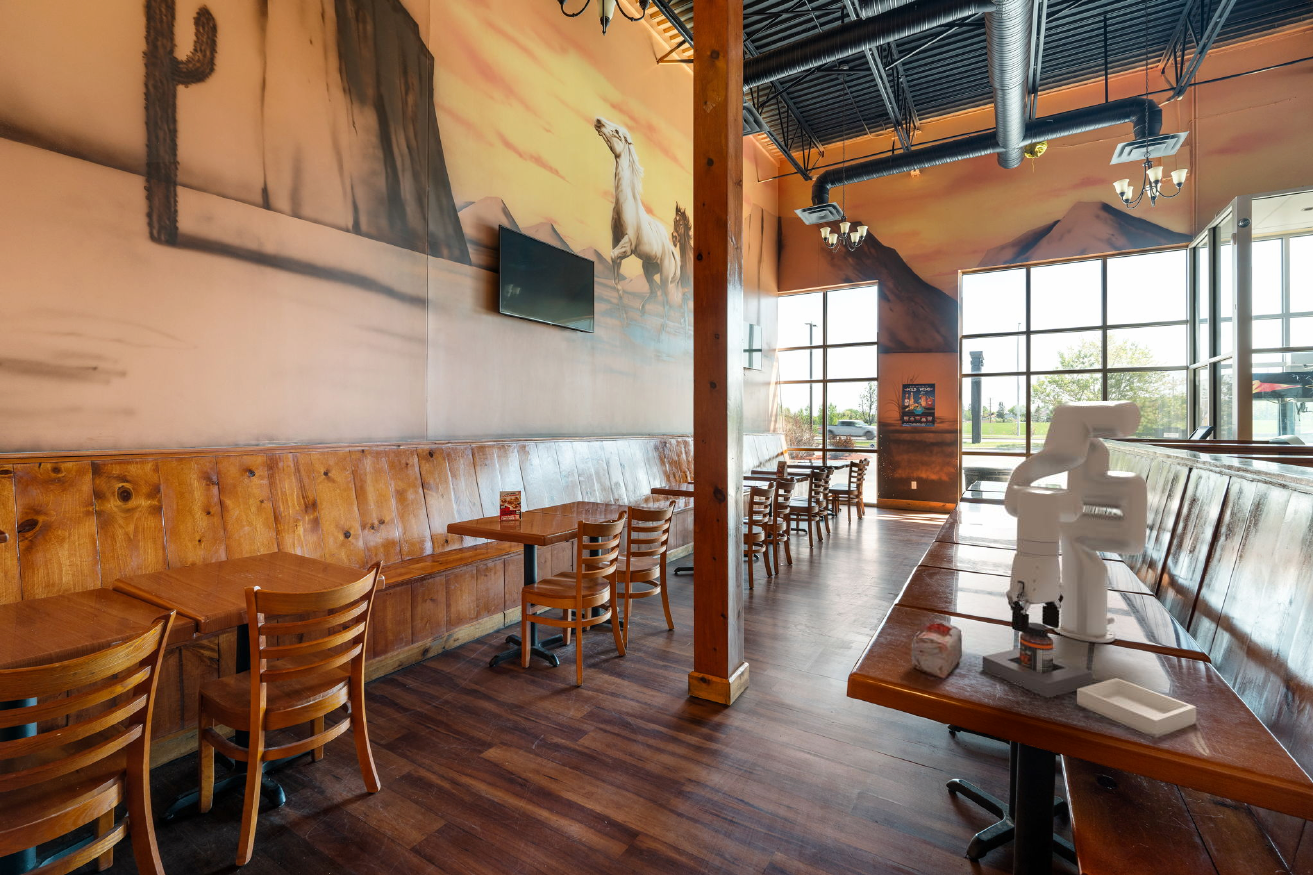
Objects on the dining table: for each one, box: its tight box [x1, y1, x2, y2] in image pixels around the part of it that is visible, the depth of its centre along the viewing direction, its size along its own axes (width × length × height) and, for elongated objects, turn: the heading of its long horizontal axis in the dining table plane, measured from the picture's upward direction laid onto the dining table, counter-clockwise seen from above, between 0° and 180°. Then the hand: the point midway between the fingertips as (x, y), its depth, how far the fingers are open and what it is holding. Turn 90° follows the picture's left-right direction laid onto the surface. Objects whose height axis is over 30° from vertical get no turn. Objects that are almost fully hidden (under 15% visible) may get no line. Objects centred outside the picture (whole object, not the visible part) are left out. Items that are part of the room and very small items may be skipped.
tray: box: [1076, 677, 1197, 739], centre depth 105 cm, size 13×13×3 cm
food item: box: [910, 620, 963, 679], centre depth 125 cm, size 14×8×10 cm, turn 138°
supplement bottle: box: [1019, 621, 1054, 674], centre depth 120 cm, size 6×6×11 cm
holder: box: [982, 647, 1093, 699], centre depth 120 cm, size 14×14×3 cm
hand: (1035, 628), depth 119 cm, fingers open, 9 cm apart
